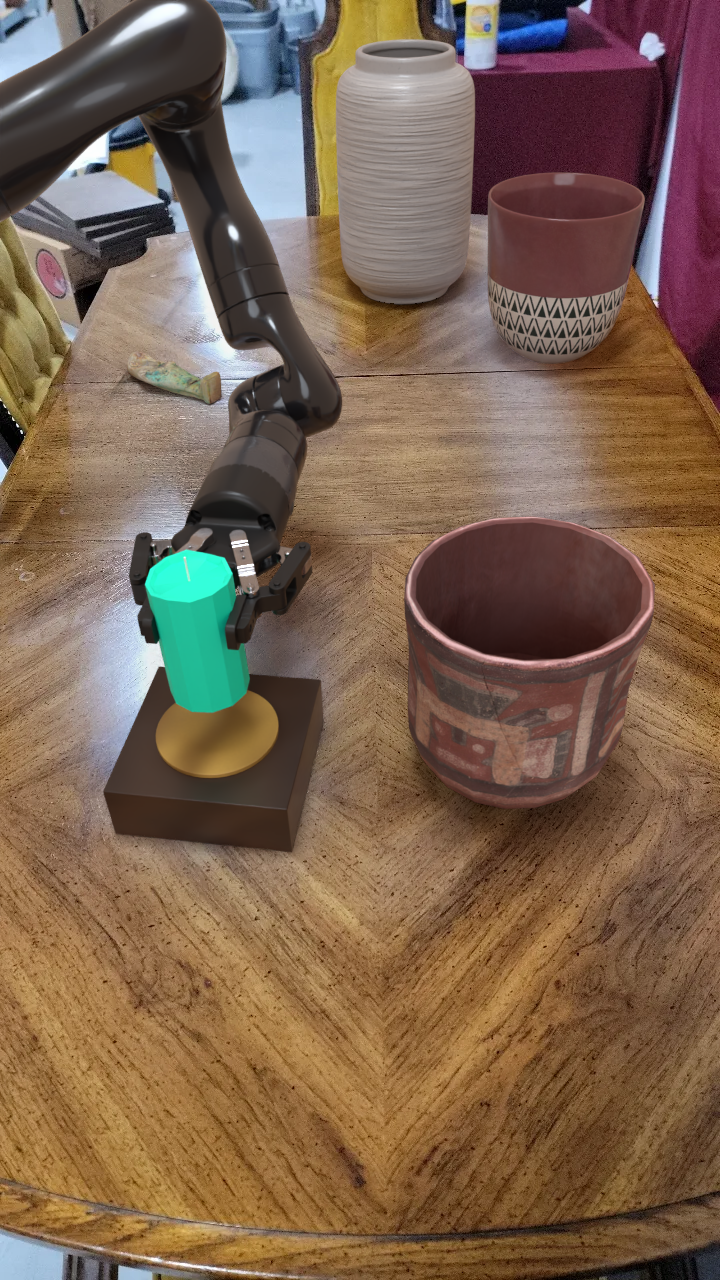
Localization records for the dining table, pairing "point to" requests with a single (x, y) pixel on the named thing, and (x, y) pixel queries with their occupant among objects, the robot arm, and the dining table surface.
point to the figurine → (174, 377)
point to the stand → (219, 766)
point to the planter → (559, 261)
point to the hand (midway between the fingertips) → (190, 637)
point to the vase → (405, 169)
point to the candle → (197, 630)
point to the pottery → (522, 656)
